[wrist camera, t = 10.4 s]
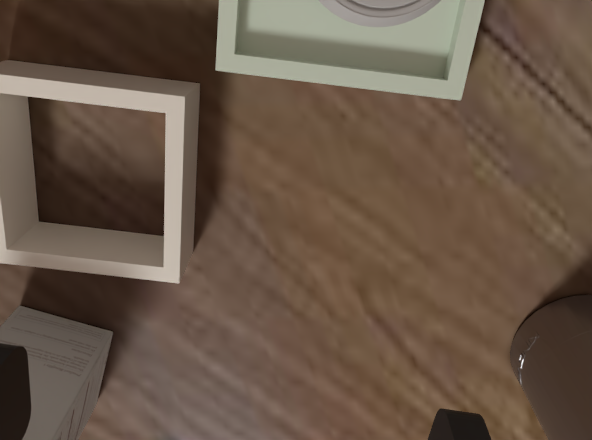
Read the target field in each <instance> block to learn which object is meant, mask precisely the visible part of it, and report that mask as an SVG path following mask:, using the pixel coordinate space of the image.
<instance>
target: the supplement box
mask: <svg viewBox="0 0 592 440" xmlns="http://www.w3.org/2000/svg"><path fill="white" fill-rule="evenodd" d="M112 336H113V332H112V331H109V330H105V329H101V328H98V327H94V326H90V325H87V324H83V323H80V322H76V321H73V320H69V319H66V318H62V317H58V316H55V315H51V314H48V313H44V312H41V311H37V310H34V309H30V308H27V307H23V306H19V307H18V308H17V309H16V310H15V311H14V312H13V313H12V314H11V315H10V316H9V318H8V319H7V320H6V321H5V322H4V323H3V324H2V325H1V326H0V343H3V344H10V345H16V346H22V347H24V348H25V349H26V351H27V355H28V367H29V380H30V394H31V416H30V421H29V424H28V428H27V430H26V433H25V435H24V437H23V439H22V440H78V439H79V437H80V435H81V433H82V431H83V429H84V427H85V425H86V423H87V422H88V420H89V418H90V416H91V414H92V412H93V410H94V408H95V406H96V404H97V401H98V396H99V391H100V387H101V383H102V378H103V374H104V370H105V366H106V361H107V357H108V353H109V349H110V344H111V340H112Z"/></svg>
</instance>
